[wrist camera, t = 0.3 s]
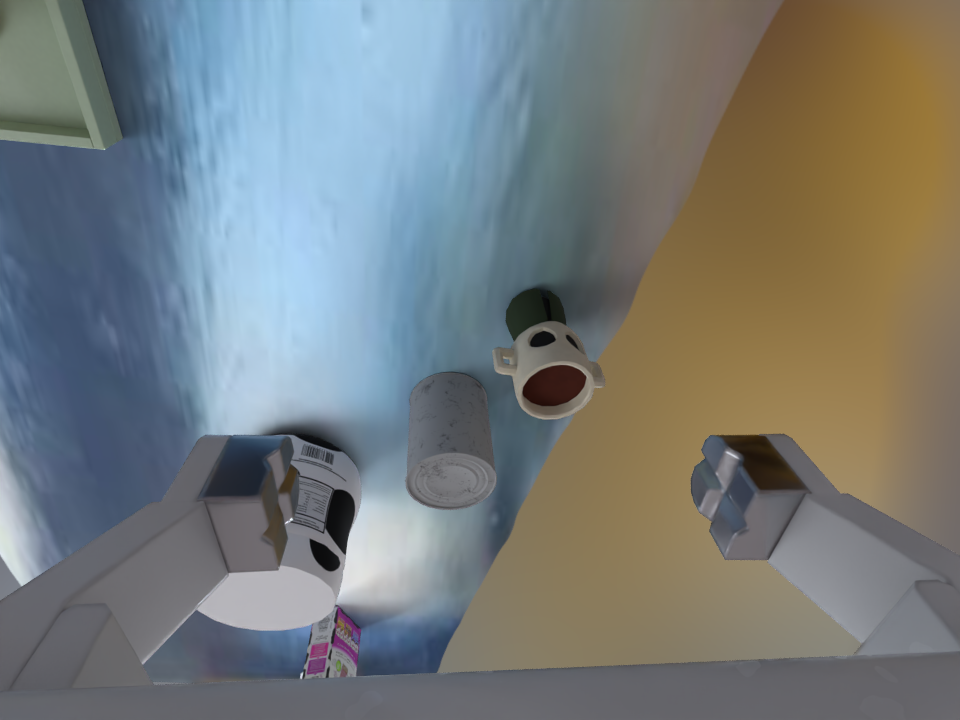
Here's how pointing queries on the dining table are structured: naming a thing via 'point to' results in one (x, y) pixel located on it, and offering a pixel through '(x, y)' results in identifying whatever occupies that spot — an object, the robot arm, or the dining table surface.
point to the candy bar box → (333, 647)
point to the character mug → (546, 358)
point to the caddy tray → (52, 77)
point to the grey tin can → (449, 443)
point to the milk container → (299, 549)
